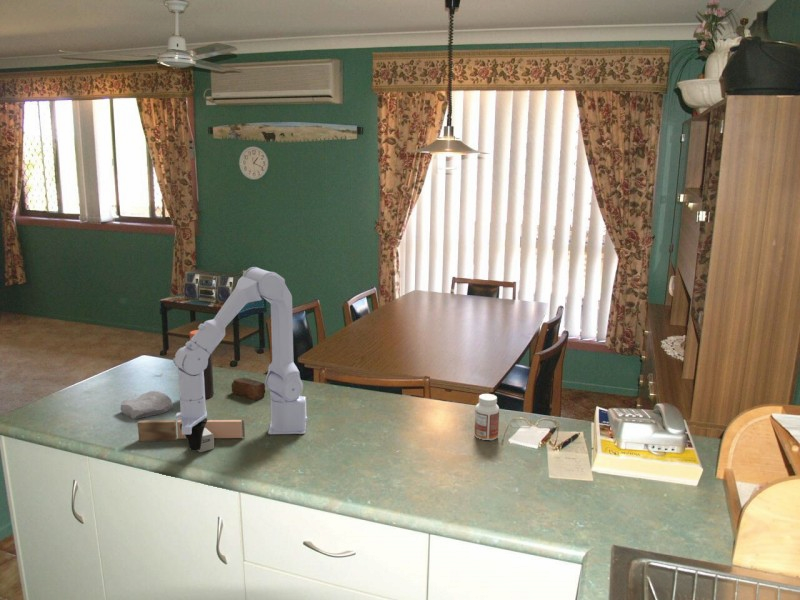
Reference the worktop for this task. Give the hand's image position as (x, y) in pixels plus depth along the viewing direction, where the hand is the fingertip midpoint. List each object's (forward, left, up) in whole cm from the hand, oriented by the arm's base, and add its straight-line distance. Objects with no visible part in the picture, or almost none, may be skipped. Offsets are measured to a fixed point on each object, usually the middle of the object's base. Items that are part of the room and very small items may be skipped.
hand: (195, 449), depth 150 cm
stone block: (+19, -28, -2) cm, 34 cm away
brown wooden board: (+11, -9, -1) cm, 14 cm away
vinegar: (+7, -38, -2) cm, 39 cm away
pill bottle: (-73, -7, -2) cm, 73 cm away
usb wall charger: (0, -5, -2) cm, 5 cm away
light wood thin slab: (-2, -9, -1) cm, 9 cm away
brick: (-7, -39, -2) cm, 39 cm away
